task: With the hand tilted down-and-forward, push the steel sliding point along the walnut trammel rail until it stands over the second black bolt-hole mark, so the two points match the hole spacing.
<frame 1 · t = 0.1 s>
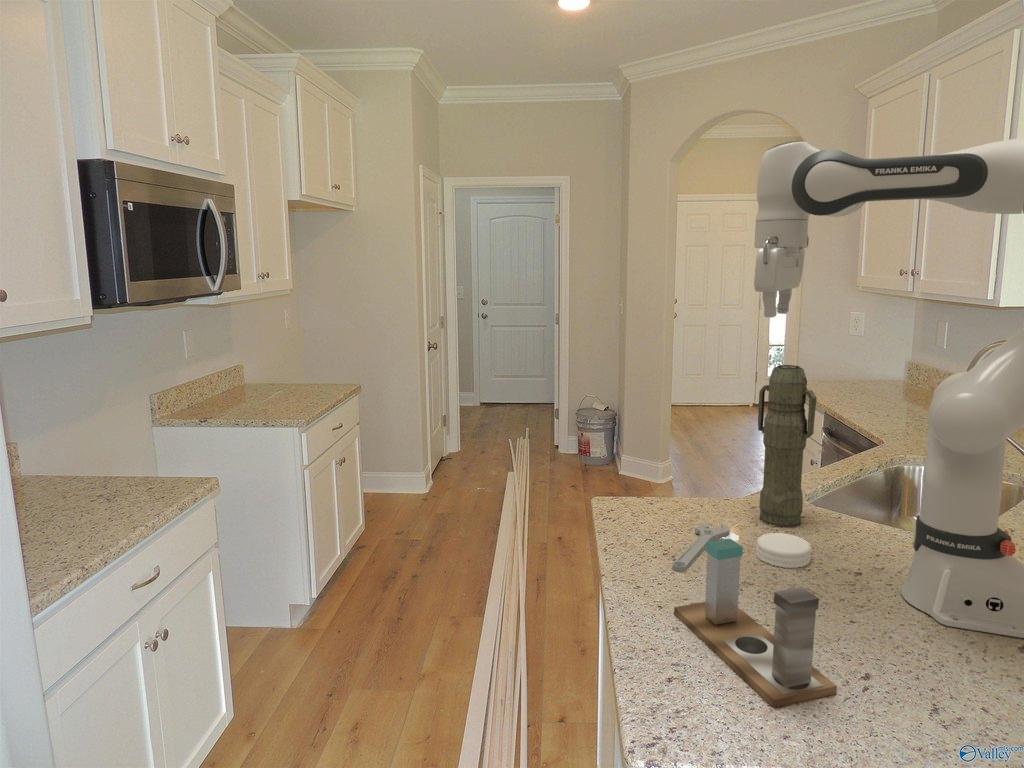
hand: (776, 315, 127), 48 cm above the worktop, tool pointing down, fingers open, 8 cm apart
adjustable wrench: (695, 549, 143), on the worktop
thermos: (780, 521, 157), on the worktop
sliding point: (722, 581, 111), point 8 cm above the worktop, slide at 0.0 cm
white flat disc: (782, 559, 138), on the worktop
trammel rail: (746, 649, 105), on the worktop
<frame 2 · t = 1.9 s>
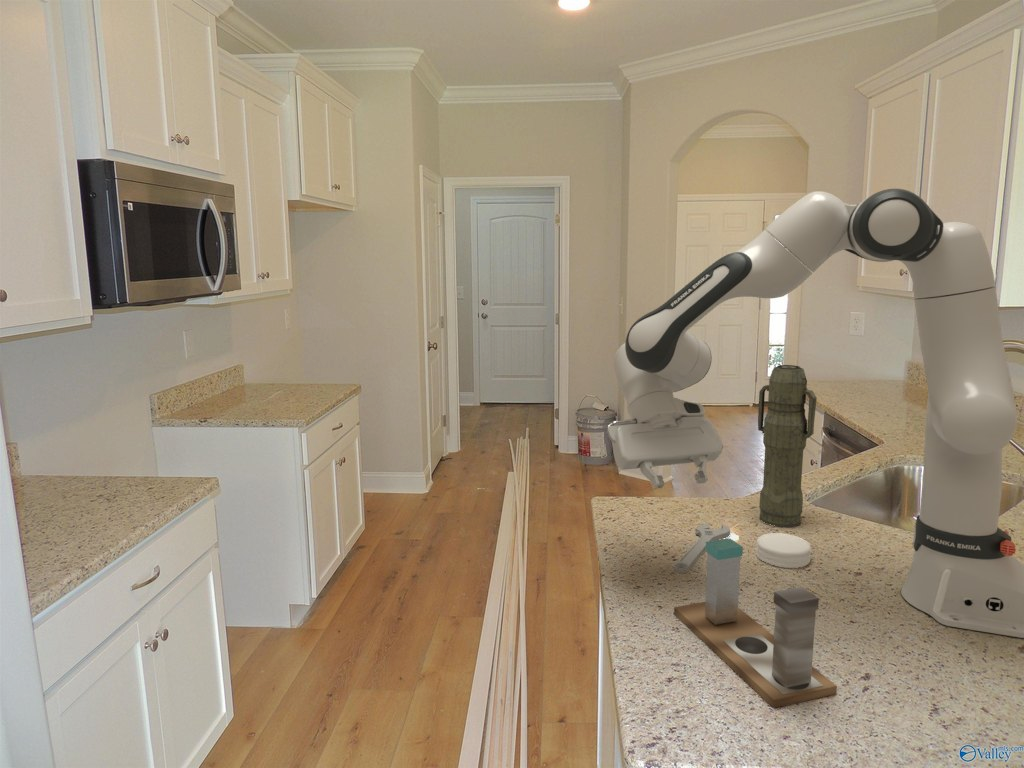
hand: (681, 484, 121), 20 cm above the worktop, tool tilted 45°, fingers open, 7 cm apart
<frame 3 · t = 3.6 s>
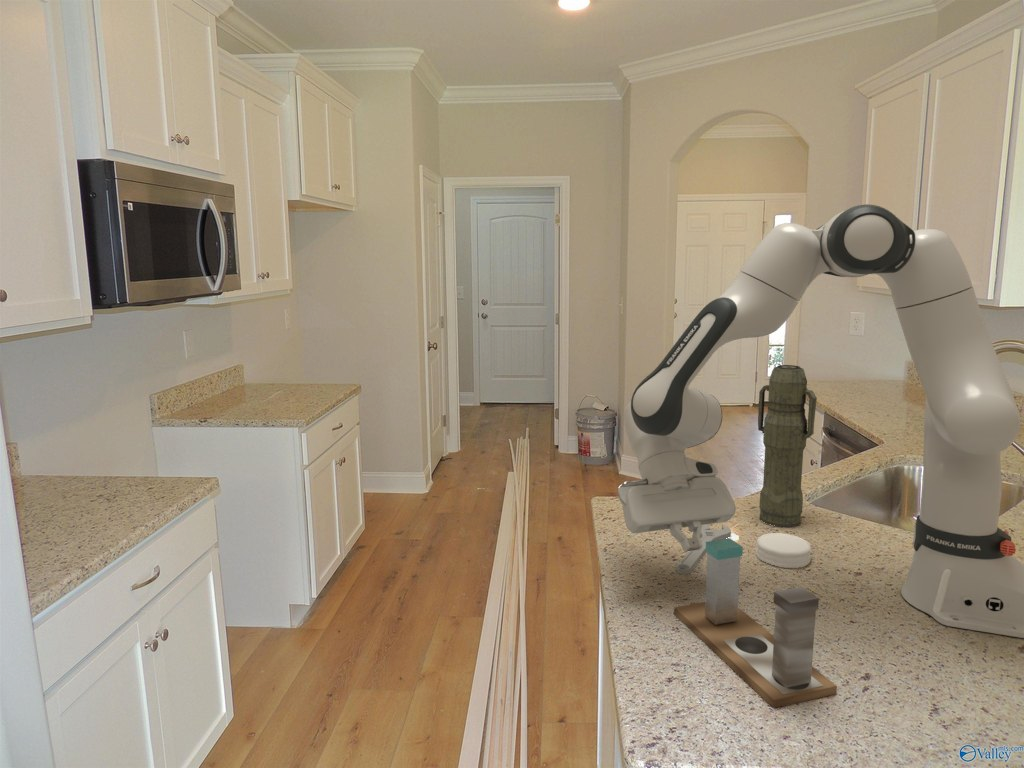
hand: (693, 549, 118), 10 cm above the worktop, tool tilted 45°, fingers closed
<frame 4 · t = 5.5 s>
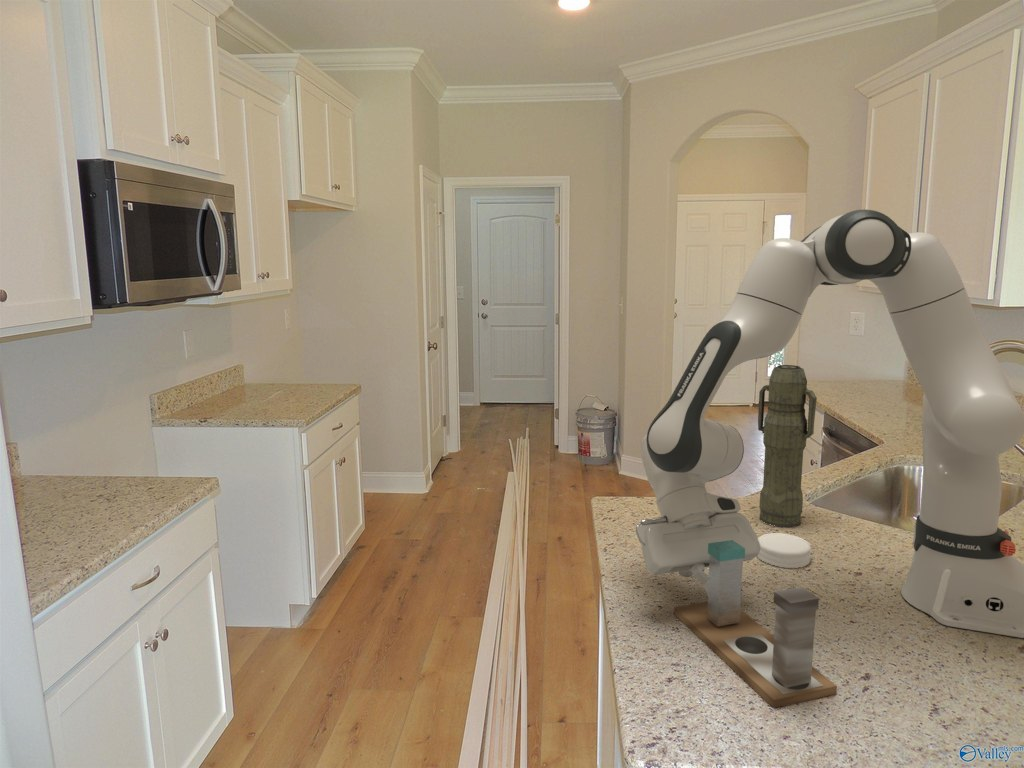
hand: (717, 591, 113), 5 cm above the worktop, tool tilted 45°, fingers closed, pressing on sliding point
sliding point: (724, 583, 110), point 8 cm above the worktop, slide at 0.7 cm, touching gripper
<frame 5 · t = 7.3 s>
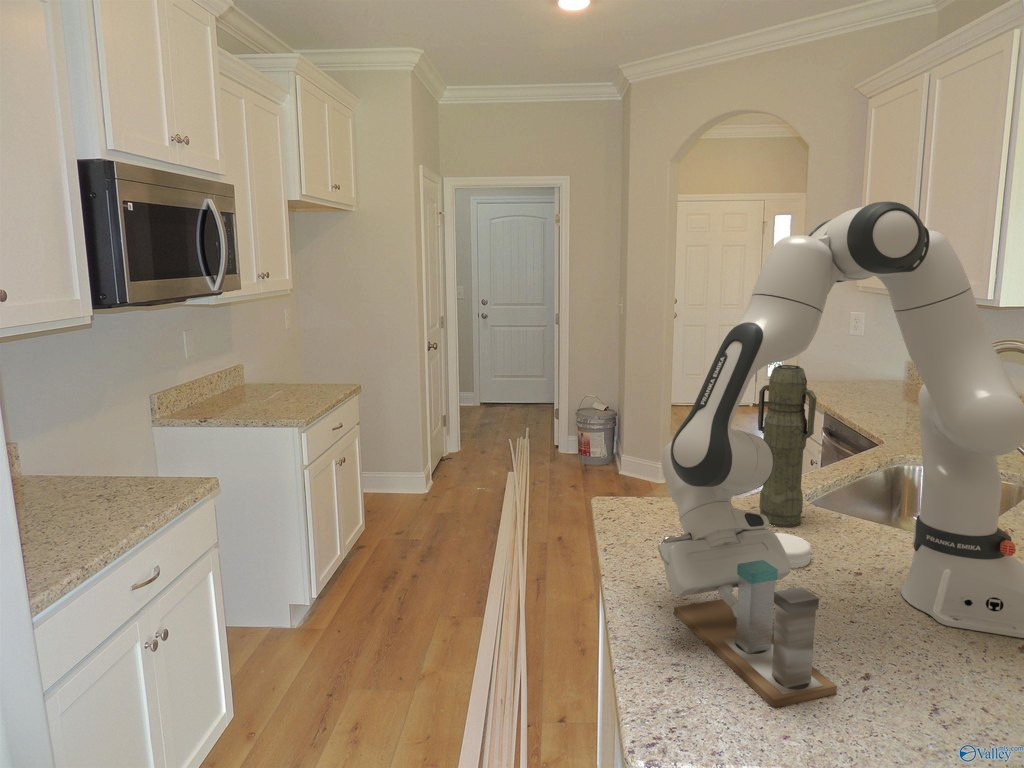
hand: (746, 615, 105), 5 cm above the worktop, tool tilted 45°, fingers closed, pressing on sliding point
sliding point: (755, 606, 103), point 8 cm above the worktop, slide at 8.5 cm, touching gripper
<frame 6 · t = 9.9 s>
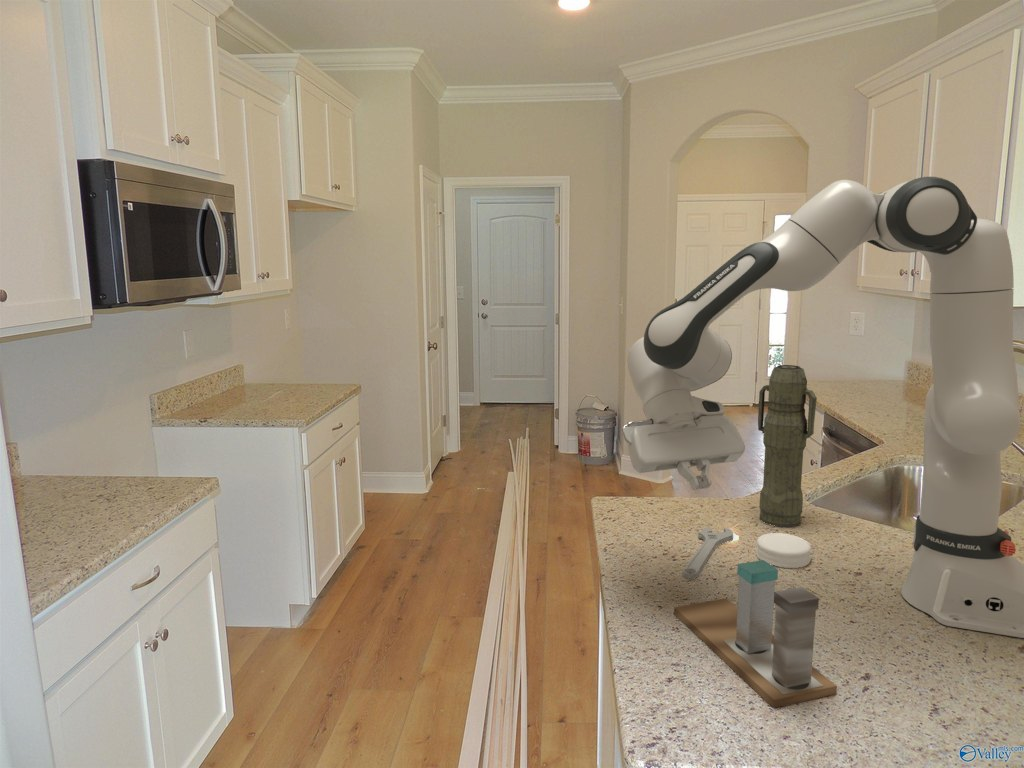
hand: (702, 487, 115), 21 cm above the worktop, tool tilted 45°, fingers closed
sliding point: (755, 606, 103), point 8 cm above the worktop, slide at 8.5 cm
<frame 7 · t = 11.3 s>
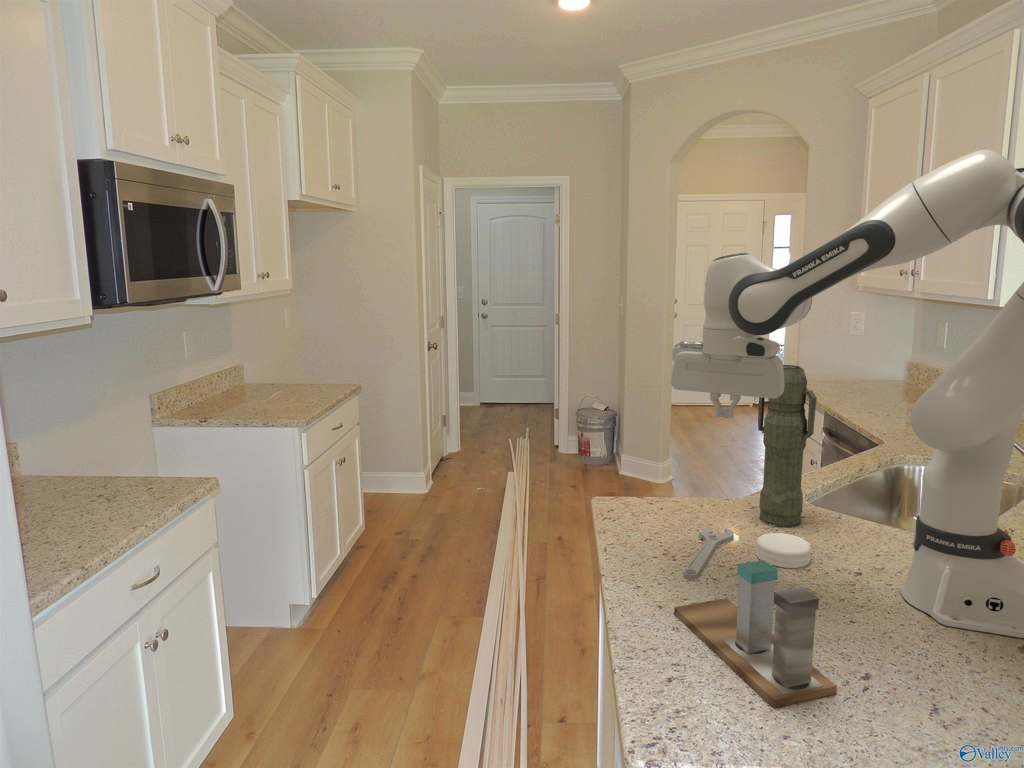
hand: (724, 417, 130), 29 cm above the worktop, tool pointing down, fingers closed
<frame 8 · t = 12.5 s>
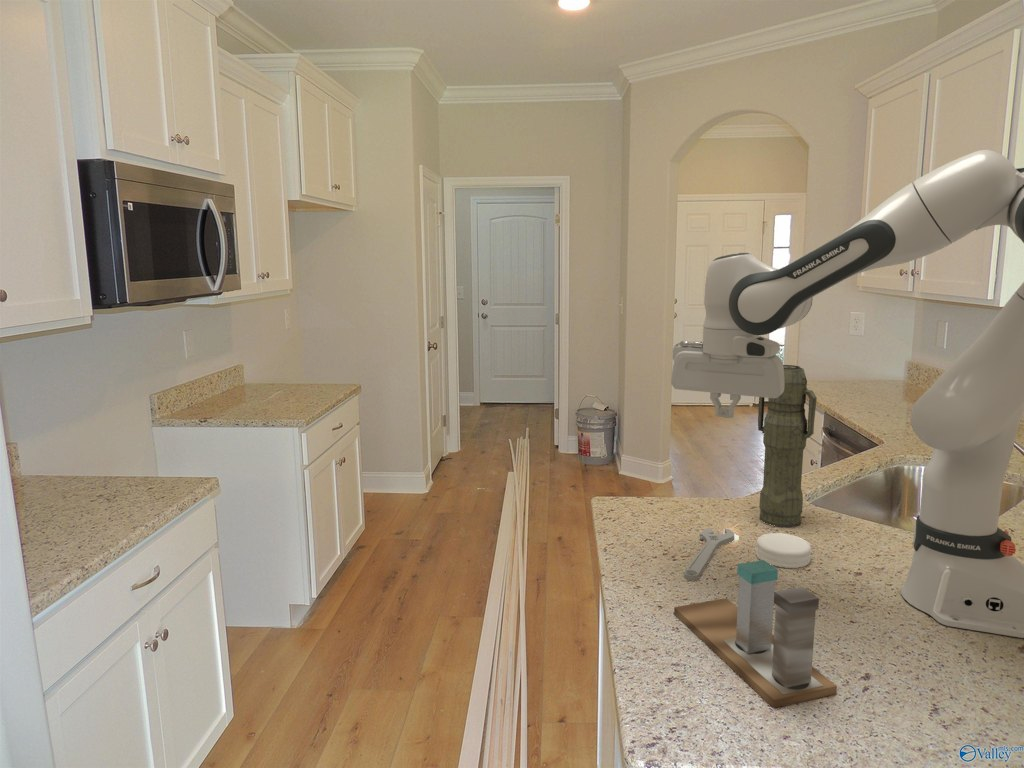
hand: (724, 416, 130), 29 cm above the worktop, tool pointing down, fingers closed
at the end: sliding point slide at 8.5 cm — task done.
